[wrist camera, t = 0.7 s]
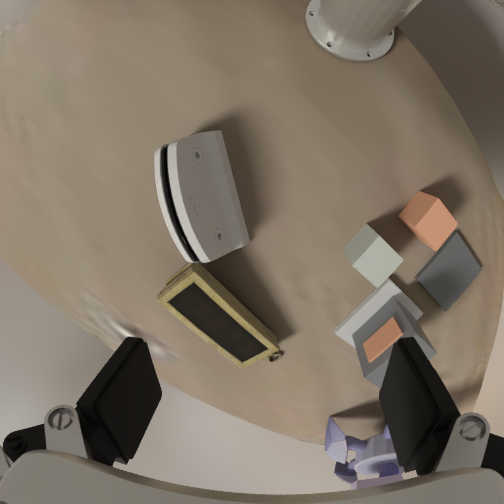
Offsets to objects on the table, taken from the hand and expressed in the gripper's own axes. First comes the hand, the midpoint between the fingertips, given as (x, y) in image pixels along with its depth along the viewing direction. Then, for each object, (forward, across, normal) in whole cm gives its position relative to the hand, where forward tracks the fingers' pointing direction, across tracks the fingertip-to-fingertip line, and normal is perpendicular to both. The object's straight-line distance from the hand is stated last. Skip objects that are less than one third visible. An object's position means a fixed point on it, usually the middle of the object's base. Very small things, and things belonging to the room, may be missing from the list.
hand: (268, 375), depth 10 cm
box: (+31, +8, +16) cm, 36 cm away
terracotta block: (+30, -21, 0) cm, 37 cm away
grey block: (+30, -13, +5) cm, 33 cm away
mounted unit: (+31, -16, +17) cm, 39 cm away
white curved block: (+31, +9, -4) cm, 32 cm away
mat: (+30, -29, +9) cm, 43 cm away
